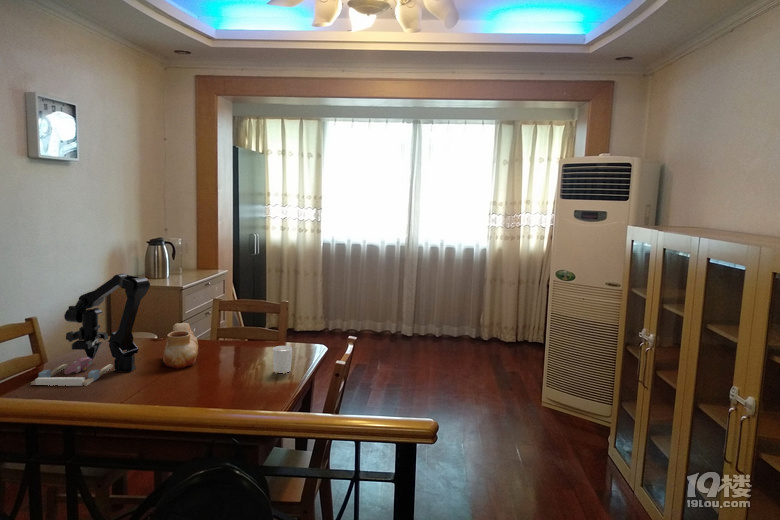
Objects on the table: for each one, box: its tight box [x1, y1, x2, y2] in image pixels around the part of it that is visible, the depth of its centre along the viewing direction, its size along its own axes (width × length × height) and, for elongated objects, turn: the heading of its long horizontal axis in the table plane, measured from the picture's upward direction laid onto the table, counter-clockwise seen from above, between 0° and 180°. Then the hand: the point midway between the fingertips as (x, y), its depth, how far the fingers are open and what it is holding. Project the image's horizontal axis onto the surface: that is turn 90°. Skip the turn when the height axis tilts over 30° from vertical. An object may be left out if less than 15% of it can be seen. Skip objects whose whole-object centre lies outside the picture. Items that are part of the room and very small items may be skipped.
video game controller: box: [63, 356, 94, 375], centre depth 202 cm, size 10×5×7 cm, turn 169°
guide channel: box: [30, 363, 114, 387], centre depth 197 cm, size 20×22×3 cm
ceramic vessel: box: [162, 322, 199, 369], centre depth 221 cm, size 14×26×15 cm, turn 19°
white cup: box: [272, 345, 293, 373], centre depth 211 cm, size 8×8×10 cm
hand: (91, 360), depth 210 cm, fingers closed
